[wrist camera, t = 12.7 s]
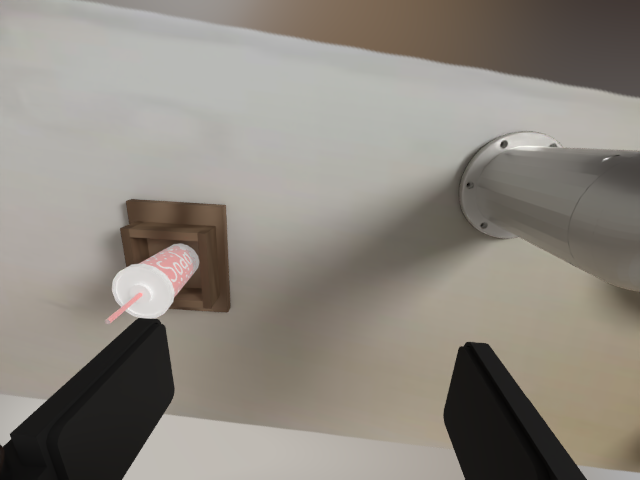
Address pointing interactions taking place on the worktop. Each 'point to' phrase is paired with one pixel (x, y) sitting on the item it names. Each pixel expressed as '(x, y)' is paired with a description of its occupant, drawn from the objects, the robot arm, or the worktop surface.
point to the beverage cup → (153, 282)
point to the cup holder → (189, 229)
